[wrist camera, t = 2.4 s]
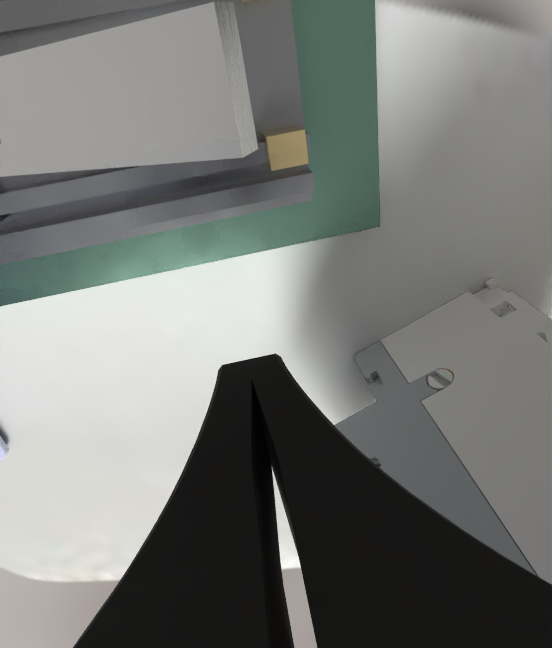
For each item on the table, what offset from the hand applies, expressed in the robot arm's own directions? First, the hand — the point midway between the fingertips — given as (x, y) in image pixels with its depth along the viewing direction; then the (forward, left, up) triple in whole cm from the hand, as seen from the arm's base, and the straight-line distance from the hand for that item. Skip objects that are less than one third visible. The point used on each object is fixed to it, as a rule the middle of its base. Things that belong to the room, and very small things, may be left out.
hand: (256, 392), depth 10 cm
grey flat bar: (-3, +6, -4) cm, 8 cm away
